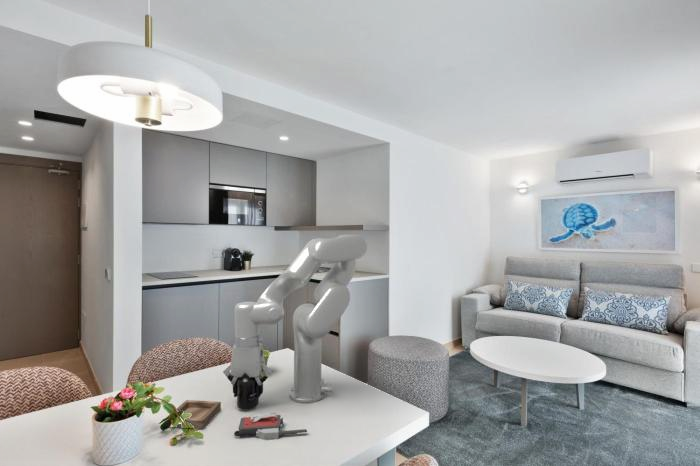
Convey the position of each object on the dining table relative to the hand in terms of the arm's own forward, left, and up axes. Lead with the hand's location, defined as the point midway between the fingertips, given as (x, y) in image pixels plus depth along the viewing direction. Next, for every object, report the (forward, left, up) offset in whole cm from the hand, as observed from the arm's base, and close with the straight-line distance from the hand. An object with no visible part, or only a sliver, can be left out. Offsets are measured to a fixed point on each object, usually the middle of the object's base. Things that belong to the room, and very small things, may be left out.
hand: (248, 395), depth 114 cm
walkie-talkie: (-12, +12, -5) cm, 18 cm away
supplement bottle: (0, 0, -4) cm, 4 cm away
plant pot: (+6, -25, -4) cm, 26 cm away
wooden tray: (+14, +8, -4) cm, 16 cm away
